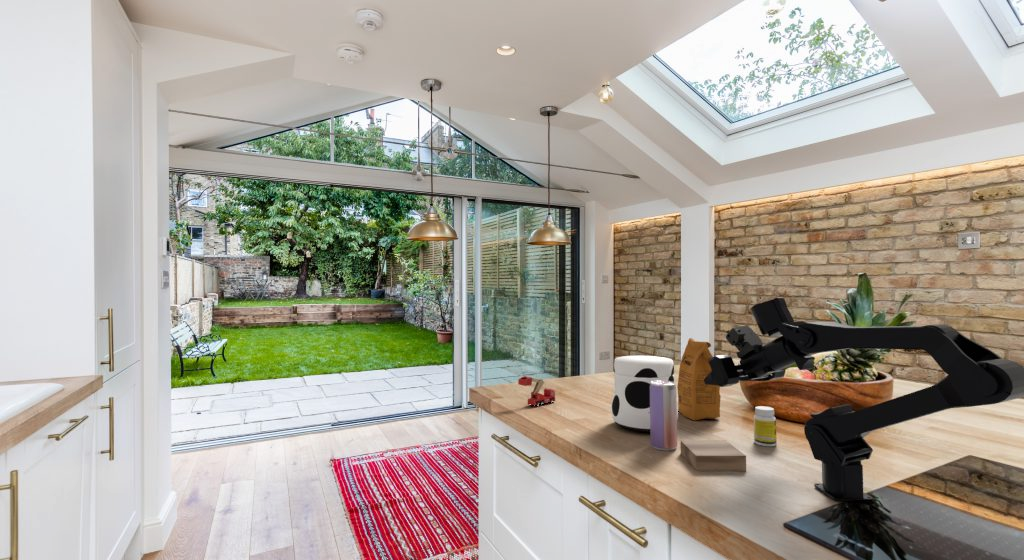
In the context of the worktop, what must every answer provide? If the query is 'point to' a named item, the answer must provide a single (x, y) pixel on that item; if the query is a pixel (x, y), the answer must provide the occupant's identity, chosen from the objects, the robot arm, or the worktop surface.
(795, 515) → the worktop surface
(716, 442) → the walnut base brick
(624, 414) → the milk container
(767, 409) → the supplement bottle
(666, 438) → the beverage can
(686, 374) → the coffee package
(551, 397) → the toy fire truck
